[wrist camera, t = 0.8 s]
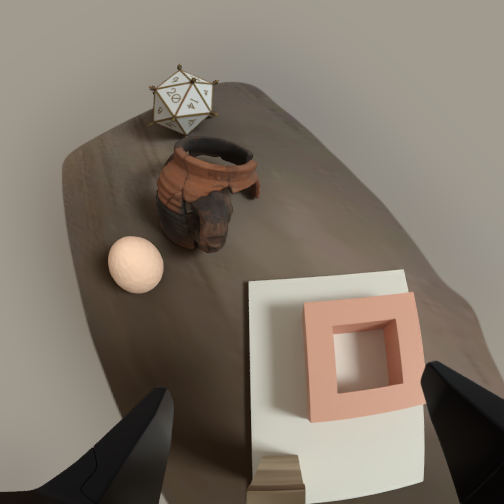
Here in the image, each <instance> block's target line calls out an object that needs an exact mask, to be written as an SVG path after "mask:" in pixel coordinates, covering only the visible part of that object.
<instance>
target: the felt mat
mask: <svg viewBox="0 0 504 504" xmlns="http://www.w3.org/2000/svg"><path fill="white" fill-rule="evenodd" d="M400 293H408V288H407V283H406V278H405V274H404V269H403V270H392V271H381V272H370V273H359V274H347V275H335V276H322V277H308V278H294V279H280V280H264V281H249V329H250V381H251V429H252V473H253V478H254V476H255V473H256V471H257V469H258V466H259V464H260V462H261V459H262V457H268V456H293V455H298V458H299V463H300V469H301V474H302V479H303V484H305V504H309V503H320V502H329V501H336V500H343V499H350V498H356V497H361V496H367V495H372V494H376V493H381V492H385V491H390V490H394V489H398V488H401V487H405V486H409V485H412V484H416V483H419V482H422V481H423V475H424V415H423V404H422V405H418V406H414V407H410V408H405V409H401V410H396V411H391V412H386V413H381V414H376V415H370V416H364V417H357V418H351V419H343V420H335V421H326V422H317V423H310V422H309V420H308V416H307V391H306V370H305V353H304V337H303V322H302V311H303V305H304V303H306V302H319V301H331V300H342V299H353V298H363V297H373V296H382V295H391V294H400ZM333 338H334V349H335V362H336V376H337V392H338V393H345V392H353V391H360V390H367V389H373V388H379V387H385V386H389V377H388V366H387V356H386V347H385V339H384V331H383V329H377V330H369V331H361V332H352V333H343V334H333Z"/></svg>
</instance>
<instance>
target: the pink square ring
mask: <svg viewBox="0 0 504 504" xmlns="http://www.w3.org/2000/svg"><path fill="white" fill-rule="evenodd" d="M302 322H303V337H304V353H305V370H306V391H307V416H308V420H309V422H310V423H317V422H326V421H335V420H343V419H351V418H357V417H364V416H370V415H376V414H381V413H386V412H391V411H396V410H401V409H405V408H410V407H414V406H418V405H422V404H426V401H425V398H424V394H423V391H422V387H421V383H420V380H421V377H422V374H423V371H424V368H425V362H424V354H423V346H422V339H421V333H420V326H419V320H418V314H417V309H416V303H415V298H414V293H413V292H408V293H400V294H391V295H382V296H373V297H363V298H353V299H342V300H331V301H319V302H306V303H304V305H303V311H302ZM377 329H383V331H384V339H385V347H386V356H387V366H388V377H389V386H385V387H379V388H373V389H367V390H360V391H353V392H345V393H338V392H337V376H336V362H335V349H334V338H333V334H343V333H352V332H361V331H369V330H377Z"/></svg>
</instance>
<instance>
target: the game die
mask: <svg viewBox="0 0 504 504" xmlns="http://www.w3.org/2000/svg"><path fill="white" fill-rule="evenodd" d="M181 67H182V66H181V65H180V64H179V65H178V68H177V69H178V71H177V72H176V73H175V74H173V75H172V76H171V77H170V78H168V79H167V80H165V81H164V82H163V83H162V84H160V85H159V86H158V87H157V88H155V87H154V86H149V88H150V90H153V91H154V92H153V94H154V107H153V121H152V122H150V123H149V124H148V126H152V125H153V124H154V123H156V124H158V125H161V126H163V127H166V128H168V129H171V130H173V131H176V132H178V133H181V134H183V135H185V138H186V137H188V135H189V134H190V133H191V132H192V131H193V130H194V129H195V128H196V127H197V126H198V125H199V124H201V123H202V122H203V121H204V120H205V119H206V118H207V117H209V118H211V117H213V116H218V115H217V113H216V112H212V103H213V85H216V84H218V81H219V80H215V81H213V83H210V82H208V81H206V80H204V79H201V78H199V77H196V76H194V75H192V74H189V73H187V72H185V71H182V70H181ZM148 126H147V127H148Z"/></svg>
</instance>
